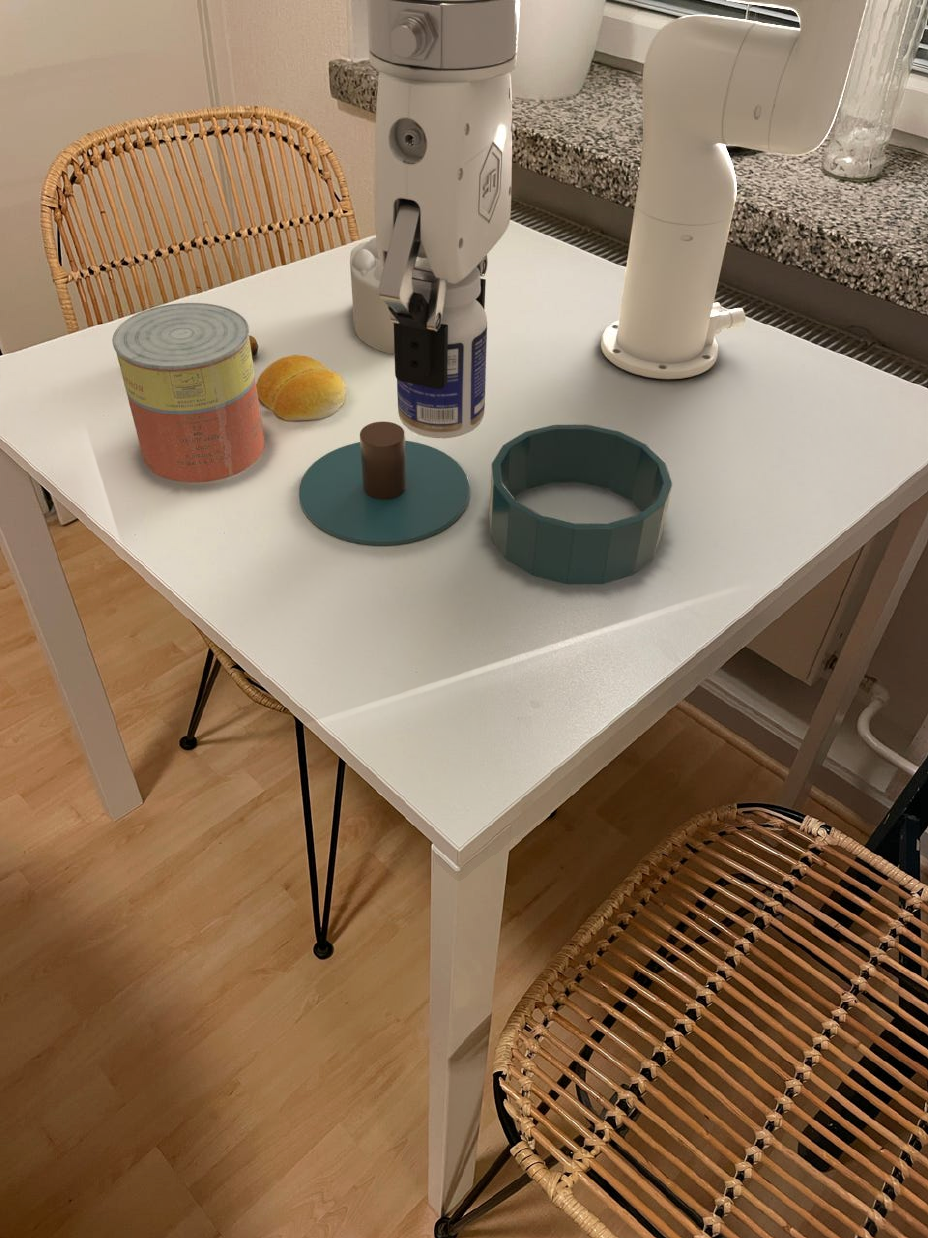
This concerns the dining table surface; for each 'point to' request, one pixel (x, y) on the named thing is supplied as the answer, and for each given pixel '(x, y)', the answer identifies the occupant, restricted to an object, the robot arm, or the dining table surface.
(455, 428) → the pill bottle
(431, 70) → the robot arm
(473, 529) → the dining table surface
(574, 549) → the pot
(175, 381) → the canned food
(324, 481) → the lid
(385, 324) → the lumpy-topped squat cylinder
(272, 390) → the bread roll
